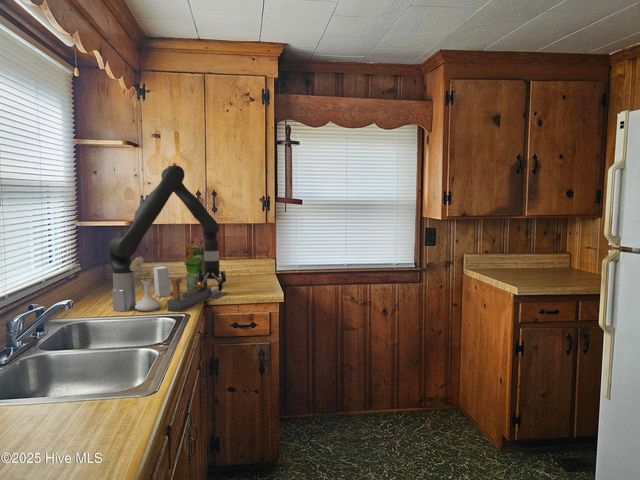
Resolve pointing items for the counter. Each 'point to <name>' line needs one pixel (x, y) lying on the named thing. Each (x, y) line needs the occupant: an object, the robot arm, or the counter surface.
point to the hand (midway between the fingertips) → (212, 290)
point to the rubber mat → (219, 295)
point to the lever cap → (213, 291)
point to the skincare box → (161, 281)
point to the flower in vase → (147, 300)
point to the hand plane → (186, 296)
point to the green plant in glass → (194, 265)
